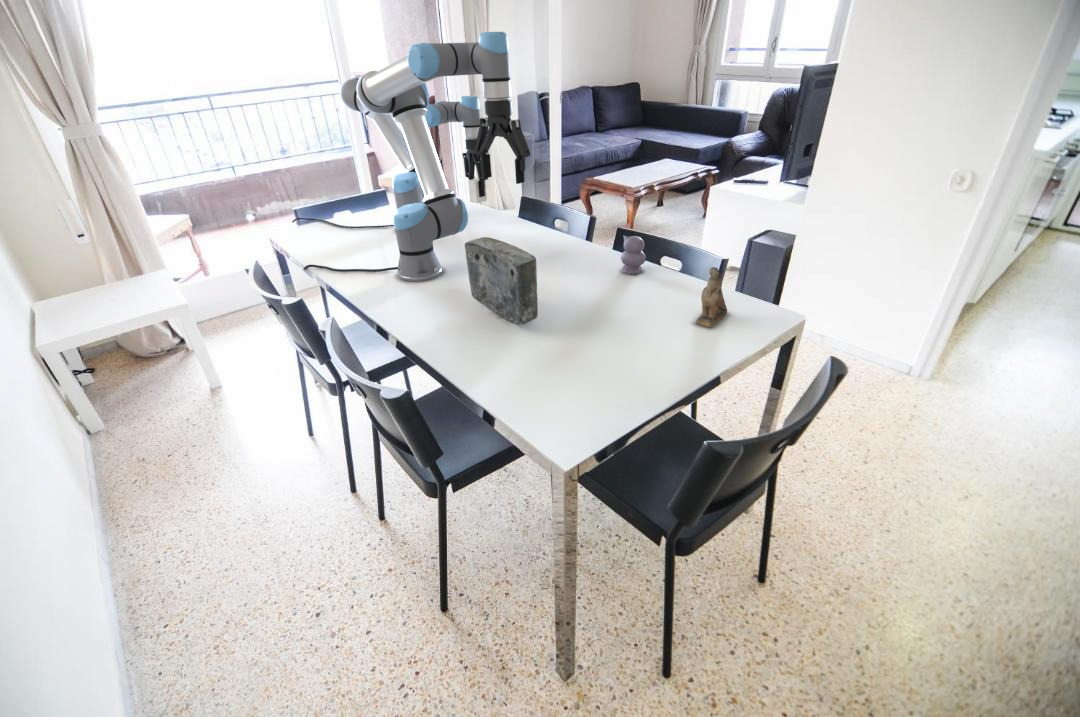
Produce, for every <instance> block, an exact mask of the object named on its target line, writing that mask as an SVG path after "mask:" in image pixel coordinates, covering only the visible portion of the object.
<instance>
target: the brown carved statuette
mask: <svg viewBox="0 0 1080 717" xmlns="http://www.w3.org/2000/svg"><path fill="white" fill-rule="evenodd" d="M708 273H709V275H710V276H709V278H708V279H707V280H708V281H707V284H706V286H705V287H704V288H703V290H702V292H701V297H700V298H701V309H702V312H701V315H700V316H699V317H698V318H697V319H696V321H695V324H696V325H699V326H703V327H705V328H712V327H714V326H715V325H716V324H717V323H719V321H721V320H722V319H723V318H725V317H726V316H727V315H728V307H727V304H726V301H725V298H724V293H723V290H722V287H723V281H722V279H721V278H720V270H719V269H718V268H717V267H715V266H712V267H711V268H710V269H709V270H708Z"/></svg>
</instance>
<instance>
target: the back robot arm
mask: <svg viewBox="0 0 1080 717" xmlns="http://www.w3.org/2000/svg"><path fill="white" fill-rule="evenodd" d="M359 79H360V78H350V79H347V80H345V81H344V82H342V84H341V85H340V89H339V98H340V101H341V102H342V104H343V105H344V107H346V108H347V109H349V110H350V111H353V112H359V113H362V114H364V116H366V118H367V119H369V120H372V121H373V123H374V124H375V126H376V128H377V129H378V131H379V132H380V134H381V136H382V137H383V139H384V140H385V142H386V143H387V145H388V147H389V148H390V150H391V151H392V153H393V154H394V157H395V158H396V159H397V161H398V163H399V164H400V166H401V167H402V168H403V171H404V172H403V173H398V174H396V175H395V176H393V177H392V179H391V184H392V188H391V189H392V191H393V197H394V202H395V207H396V210H397V209H398V208H400V207H402V206H404V205H407V204H413V203H423V200H424V198H425V194H424V191H423V189H422V186H421V183H420V180H419V177H418V174H417V171H416V168H415V166H414V163H413V160H412V157H411V154H410V151H409V148H408V145H407V143H406V140H405V137H404V134H403V131H402V128H401V125H400V124H399V123H397V122H395V121H394V119H393V116H392V113H375V112H372V111H370V110H368V109H367V108H366V107H364V106H363V104H362V103H361V102H360V100H359V98H358V96H357V91H356V88H357V83H358V81H359ZM459 99H460V100H459V101H445V100H442V101H441V100H440V101H436V102H434V103H429V104H428V106H427V107H426V108H427V113H426V116H425V120H426V123H427V126H428V128H434V127H437V126H440V125H444V124H448V123H462V131H463V132H462V133H463V138H464V139H463V142H464V148H465V149H466V151H465V152H462V154H461V155H462V159H463V166H464V176H465V178H467V179H468V180H472V179H476V176H475V170H476V173H477V178H479V180H478V187H479V197H483V196H485V181H487V180H489V178H483V166H482V165H481V156H480V154H479V152H475V145H476V141H477V136H478V132H479V127H480V118H481V105H480V99H479V97H478V96H477V95H461V96H460V98H459ZM479 147H480V146H479ZM475 168H476V169H475ZM298 220H306V221H316V222H317V221H318V222H322V223H326V224H330V225H332V226H335V227H339V228H345V229H369V228H370V229H374V228H391V227H392V228H393V227H394V224H386V225H361V226H352V225H351V226H349V225H341V224H337V223H334V222H331V221H327V220H324V219H320V218H309V217H297V218H294V219H293V220H292V221H291V223H295V222H296V221H298Z"/></svg>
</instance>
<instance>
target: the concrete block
mask: <svg viewBox="0 0 1080 717" xmlns="http://www.w3.org/2000/svg"><path fill="white" fill-rule="evenodd" d="M464 249H465V250H464V252H465V258H466V265H467V273H468V281H469V287H470V294H471V296H472V298H473V299H474V300H476V301H477V302H479V303H480V304H481V305H483V306H484V307H486V308H487V309H488V310H490V311H491V312H493V313H494V314H496V315H497V316H499V317H500V318H502V319H503V320H505V321H507V322H510V323H511V324H514V325H518V326H522V325H525V324H528V323H530V322H532V321H534V320H536V319H537V318H538V317H539V306H538V300H539V299H538V273H537V272H538V271H537V270H538V268H537V258H536V256H535V255H533V254H531V253H529V252H528V251H526V250H524V249H523V248H520V247H518V246H516V245H513V244H510V243H507V242H506V241H503V240H499V239H496V238H492V237H487V236H483V237H479V238H478V237H477V238H474V239H471V240H468V241H466V242H465V243H464Z"/></svg>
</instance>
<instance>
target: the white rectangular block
mask: <svg viewBox="0 0 1080 717" xmlns="http://www.w3.org/2000/svg"><path fill="white" fill-rule="evenodd" d="M478 180H479V177H477V178H476V177H475V178H473V179H472V180H469V179H468V180H467V184H468V194H469V202H470V203H474V204H480V203H484V202H488V196H487V194H488V193H487V184H486V183H487V180H485V196H483V197H479V187H478Z"/></svg>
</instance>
